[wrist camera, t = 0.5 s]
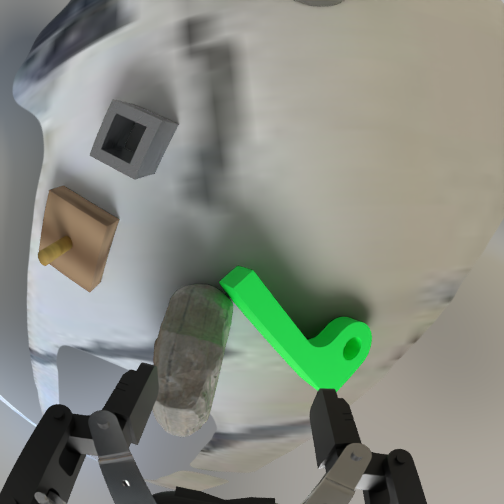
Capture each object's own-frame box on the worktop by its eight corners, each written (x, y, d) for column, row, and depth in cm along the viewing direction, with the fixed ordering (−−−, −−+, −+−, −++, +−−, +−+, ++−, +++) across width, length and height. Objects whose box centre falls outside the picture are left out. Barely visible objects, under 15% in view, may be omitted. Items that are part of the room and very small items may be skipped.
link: (135, 104, 25) (112, 99, 20) (178, 124, 25) (162, 120, 21) (113, 152, 27) (89, 155, 22) (154, 173, 28) (134, 179, 23)
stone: (215, 382, 39) (199, 464, 25) (171, 371, 38) (143, 449, 25) (241, 281, 32) (224, 377, 18) (182, 267, 32) (131, 351, 18)
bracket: (344, 330, 39) (377, 344, 32) (299, 376, 36) (329, 399, 30) (273, 224, 33) (307, 221, 27) (212, 277, 31) (233, 288, 24)
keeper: (63, 185, 28) (22, 199, 21) (119, 219, 30) (82, 242, 22) (50, 247, 32) (16, 270, 24) (100, 282, 33) (69, 312, 26)
